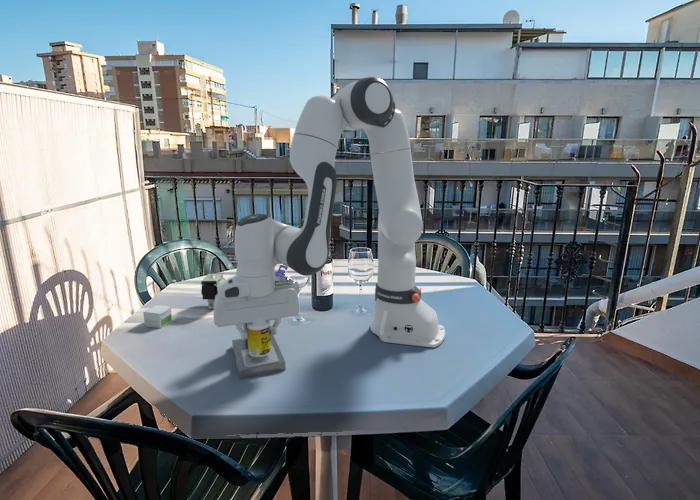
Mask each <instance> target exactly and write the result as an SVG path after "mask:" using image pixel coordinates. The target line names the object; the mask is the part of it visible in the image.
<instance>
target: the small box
mask: <svg viewBox="0 0 700 500" xmlns="http://www.w3.org/2000/svg"><path fill="white" fill-rule="evenodd" d="M142 314H143V321H144V323H143V324H144V327H147V326H149V327H148V328H155V327H156V329H161V328H162V327H164V326H166V325H167V324H169V323H170V322H173V314H172V307H171V306H167V305H161V304H160V305H158V304H155V305H154V306H151V307H149V308H148V309H146V310H143V313H142Z"/></svg>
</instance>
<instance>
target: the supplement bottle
mask: <svg viewBox="0 0 700 500" xmlns="http://www.w3.org/2000/svg"><path fill="white" fill-rule="evenodd" d="M270 326H271V321H270V320H264V317H259V318H255V321H254V322H250V323H247V332H248V353H249V354H250V355H251V356H253V357H263V356H266V355H268V354H269V353H270V351H271V335H270Z"/></svg>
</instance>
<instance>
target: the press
mask: <svg viewBox="0 0 700 500" xmlns="http://www.w3.org/2000/svg"><path fill="white" fill-rule="evenodd" d="M242 326H243V327H242V329H243V330H247V323H244V324H242ZM231 342H232V343H231V344H232V350H233V355H234V361H235V364H236V365H235V366H236V368H237V369H236V370H237V373H238V374H237V375H238V378H239V379H240V380H241V379H244V378H249V377H255V376H261V375H263V374H271V373H274V372H275V373H276V372H280V371H284V370H286V368H287V367H286V360H285V359H284V356H283V354H282V351H281V349H280V347H279V345H278V343H277V341H276V338H275V336H274V335H271V351H270V353H269V354H268V355H266V356H263V357H253V356H251V355H250V354H249V353H248V339H245V340H242V338H238V339H232V340H231Z"/></svg>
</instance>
